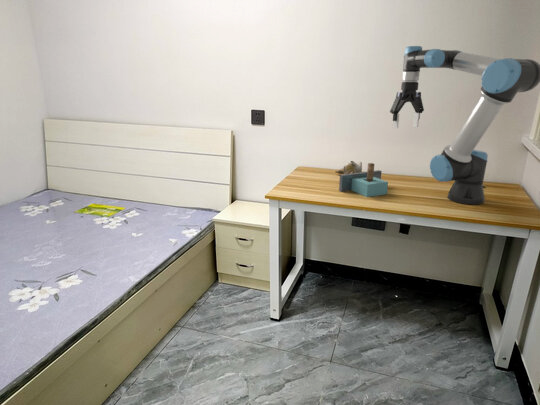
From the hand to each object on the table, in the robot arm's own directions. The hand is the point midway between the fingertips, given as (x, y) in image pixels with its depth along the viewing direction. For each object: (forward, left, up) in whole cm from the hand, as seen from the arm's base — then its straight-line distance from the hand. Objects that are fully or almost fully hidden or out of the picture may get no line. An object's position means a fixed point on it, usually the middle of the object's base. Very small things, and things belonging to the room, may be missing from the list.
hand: (405, 127), depth 191 cm
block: (-1, +20, -30) cm, 36 cm away
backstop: (+6, +20, -30) cm, 37 cm away
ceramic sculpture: (+29, +8, -31) cm, 43 cm away
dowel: (-1, +20, -30) cm, 36 cm away
